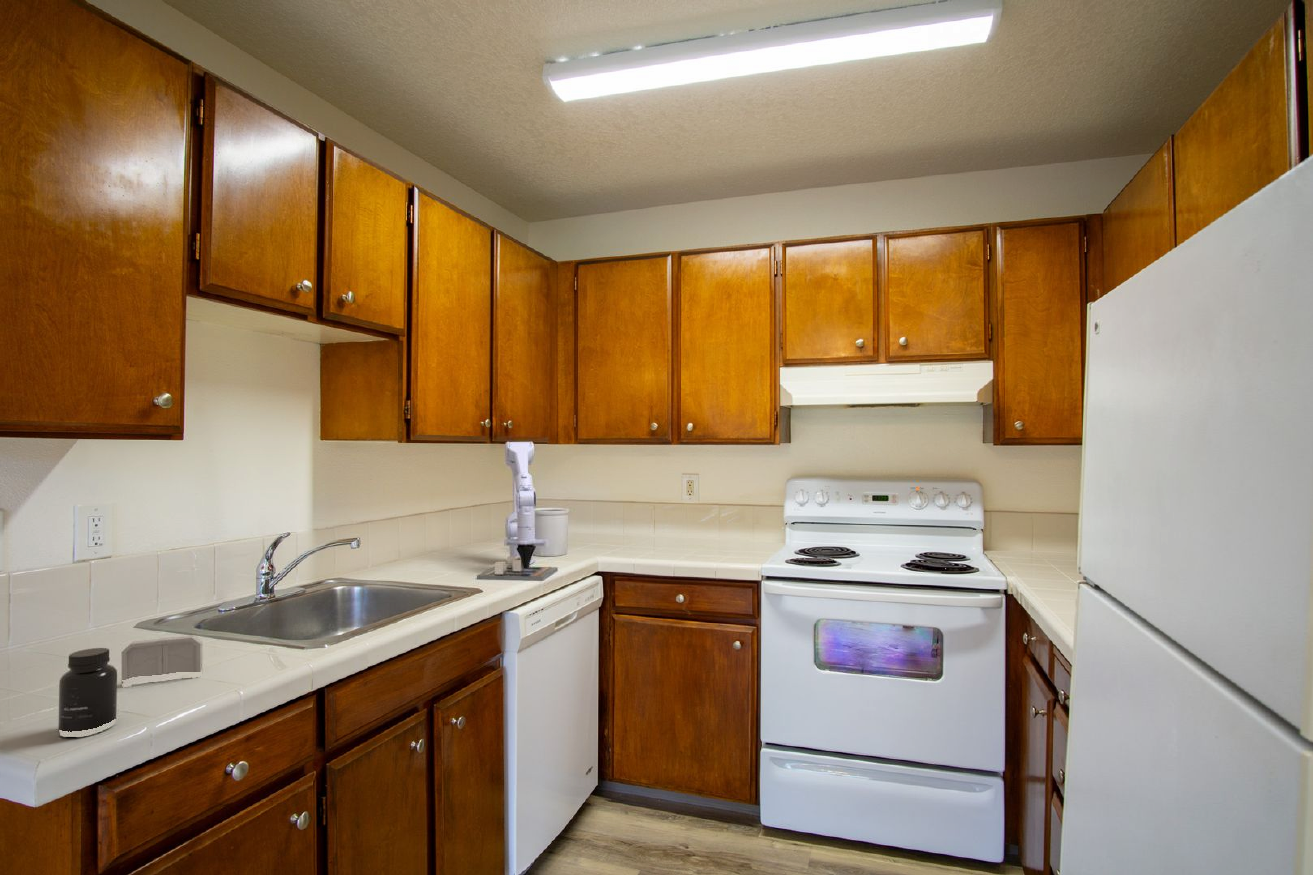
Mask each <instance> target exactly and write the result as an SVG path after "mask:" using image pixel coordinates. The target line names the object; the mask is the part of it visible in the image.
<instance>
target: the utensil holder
mask: <svg viewBox="0 0 1313 875" xmlns="http://www.w3.org/2000/svg"><path fill="white" fill-rule="evenodd" d="M569 514H570V509H569V508H565V507H564V508H563V507H538V508H535V539H541V540H548V546H546V547H544V546H536V548H535V550H534V552H533V556H536V557H559V556H565V555H567V554H568V546H569V545H568V541H569Z"/></svg>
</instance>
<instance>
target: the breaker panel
mask: <svg viewBox="0 0 1313 875" xmlns="http://www.w3.org/2000/svg"><path fill="white" fill-rule="evenodd" d="M517 558H518V556H510V555H508V556H507V558H506V561H496V562H494V566H493V567H491V568H489V569H487V570H485V571H483V572H481V573H479V574H477V575H476V580H493V581H495V580H496V581H497V580H499V581H500V580H501V581H534V582H535V581H536V582H538V581H539V582H543V581H545V580H546V579H548V578H549V577H550V576H552V575H554V574H555V573H557V572H558V570H559V568H558V567H556V566H554V567H553V566H529V568H524V570H522V571H513V561H512V560H514V559H517ZM506 564H507V566H506Z"/></svg>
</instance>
